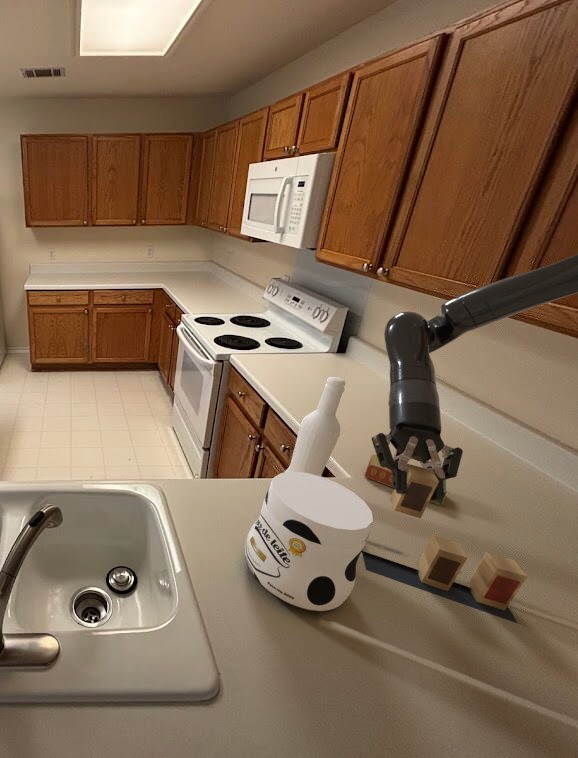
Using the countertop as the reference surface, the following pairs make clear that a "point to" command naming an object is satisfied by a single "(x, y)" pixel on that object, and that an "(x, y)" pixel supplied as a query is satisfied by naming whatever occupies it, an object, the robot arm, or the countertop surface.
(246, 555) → the milk container
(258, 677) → the countertop surface
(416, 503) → the tan wooden block
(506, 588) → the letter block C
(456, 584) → the word mat
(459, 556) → the brown panel wooden block
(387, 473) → the carton
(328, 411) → the bottle
